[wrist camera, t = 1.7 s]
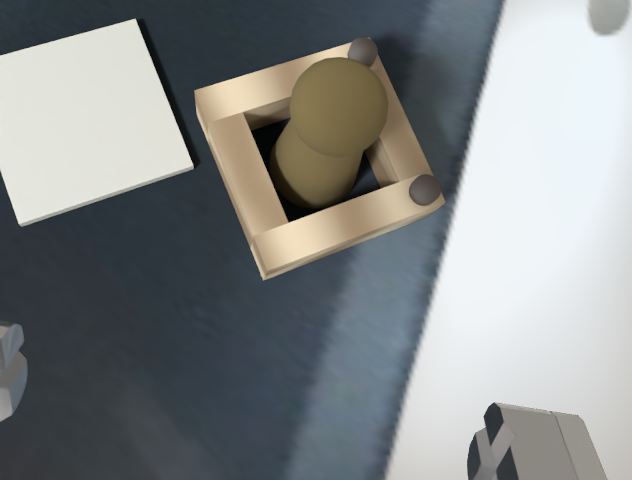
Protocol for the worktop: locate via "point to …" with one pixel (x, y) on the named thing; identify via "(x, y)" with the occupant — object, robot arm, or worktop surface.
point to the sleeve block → (258, 191)
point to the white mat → (84, 122)
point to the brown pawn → (327, 132)
